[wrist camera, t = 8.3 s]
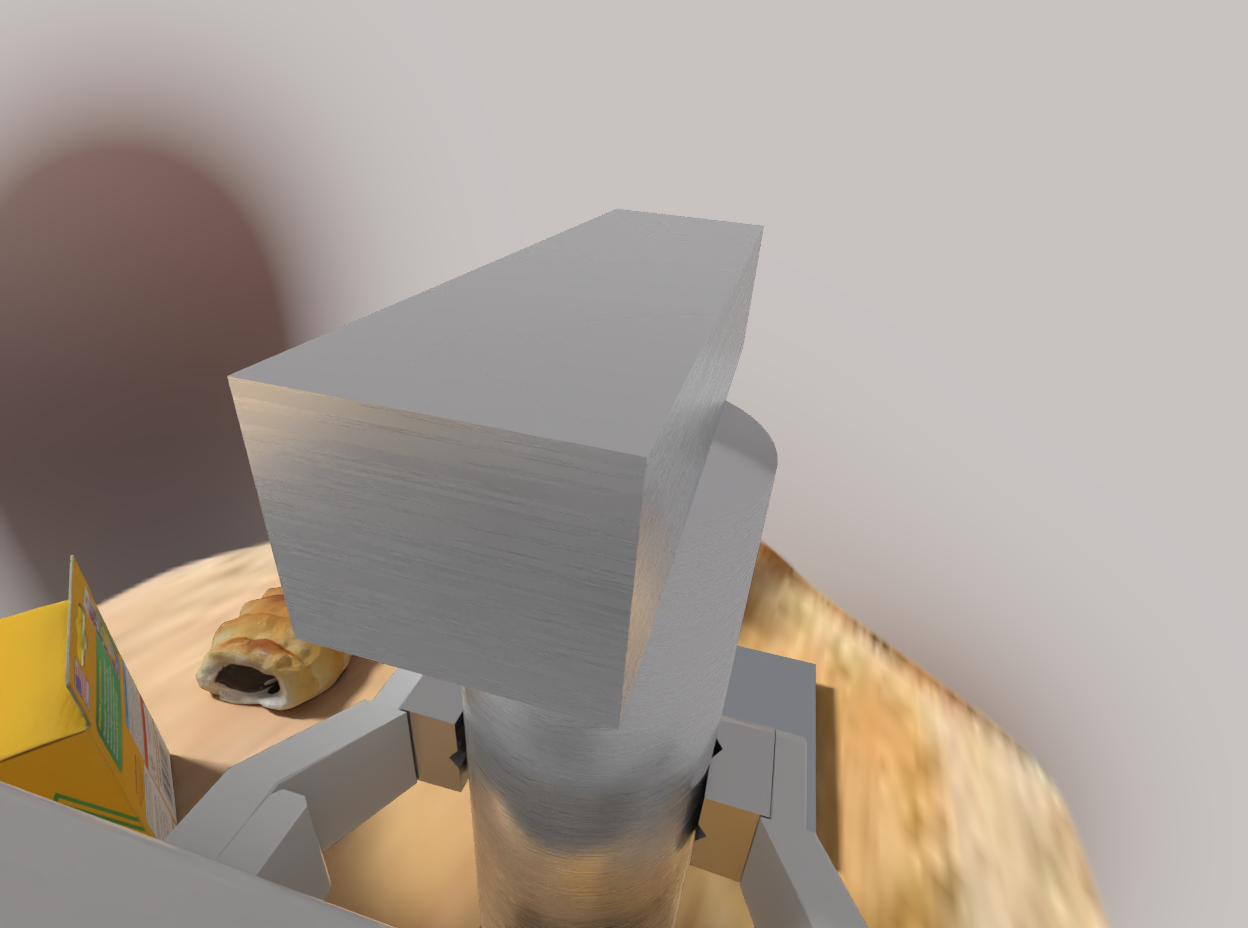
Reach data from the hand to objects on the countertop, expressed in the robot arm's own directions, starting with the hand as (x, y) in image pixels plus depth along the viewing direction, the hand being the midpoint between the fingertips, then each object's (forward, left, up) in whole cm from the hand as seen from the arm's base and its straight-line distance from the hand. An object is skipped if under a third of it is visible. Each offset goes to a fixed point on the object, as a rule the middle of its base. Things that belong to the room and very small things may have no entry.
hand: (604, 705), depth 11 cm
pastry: (-21, +12, -18) cm, 30 cm away
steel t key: (0, -1, -7) cm, 7 cm away
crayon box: (-20, +2, -18) cm, 27 cm away
